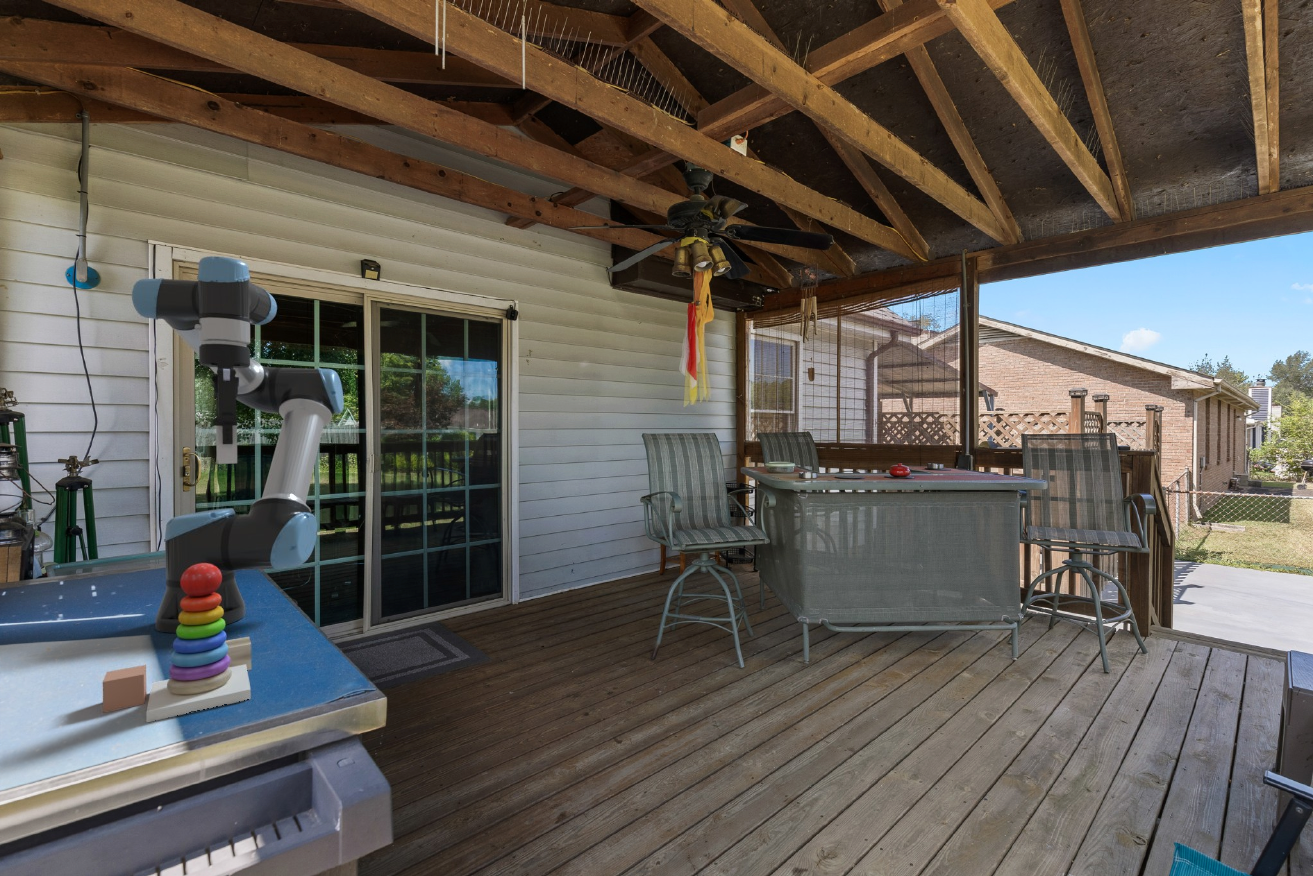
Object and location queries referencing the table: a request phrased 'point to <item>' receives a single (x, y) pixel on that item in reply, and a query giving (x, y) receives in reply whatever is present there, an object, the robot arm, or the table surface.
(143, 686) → the terracotta block
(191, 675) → the stacking toy
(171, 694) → the white square slab
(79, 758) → the table surface
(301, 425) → the robot arm
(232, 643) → the birch block
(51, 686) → the table surface
